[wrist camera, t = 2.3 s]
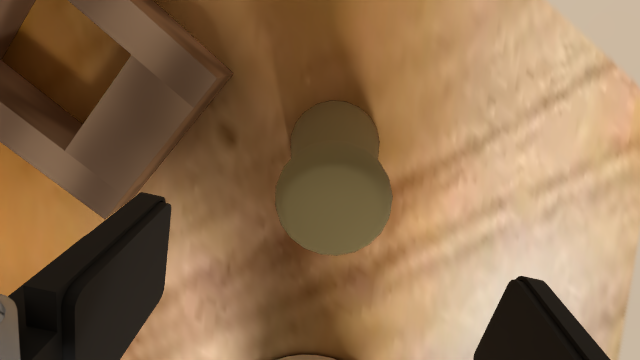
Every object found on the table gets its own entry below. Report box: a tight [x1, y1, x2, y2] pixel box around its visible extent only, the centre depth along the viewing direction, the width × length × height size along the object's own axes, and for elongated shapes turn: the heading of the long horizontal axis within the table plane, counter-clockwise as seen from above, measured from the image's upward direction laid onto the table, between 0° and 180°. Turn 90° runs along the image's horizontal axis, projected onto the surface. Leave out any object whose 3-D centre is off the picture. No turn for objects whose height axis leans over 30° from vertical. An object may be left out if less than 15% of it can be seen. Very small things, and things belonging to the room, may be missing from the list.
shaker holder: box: [0, 0, 233, 219], centre depth 23 cm, size 16×12×4 cm
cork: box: [275, 101, 393, 256], centre depth 21 cm, size 6×6×11 cm
